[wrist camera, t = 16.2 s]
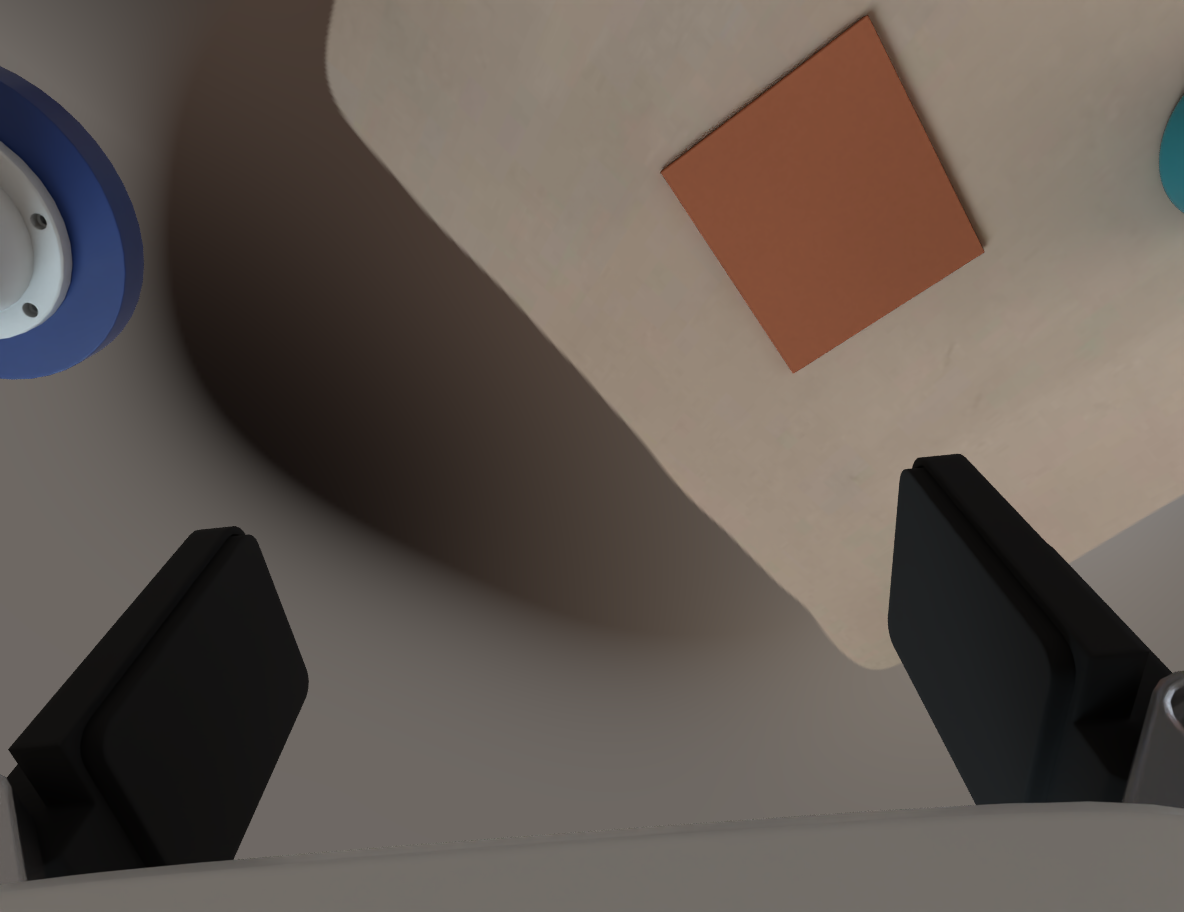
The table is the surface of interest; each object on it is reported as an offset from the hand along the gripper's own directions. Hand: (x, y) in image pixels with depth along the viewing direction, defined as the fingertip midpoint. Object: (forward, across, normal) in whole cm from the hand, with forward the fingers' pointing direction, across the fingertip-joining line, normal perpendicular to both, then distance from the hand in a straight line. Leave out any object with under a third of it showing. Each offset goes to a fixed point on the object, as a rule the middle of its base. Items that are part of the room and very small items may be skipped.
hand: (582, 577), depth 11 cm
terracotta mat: (+33, -13, +2) cm, 36 cm away
